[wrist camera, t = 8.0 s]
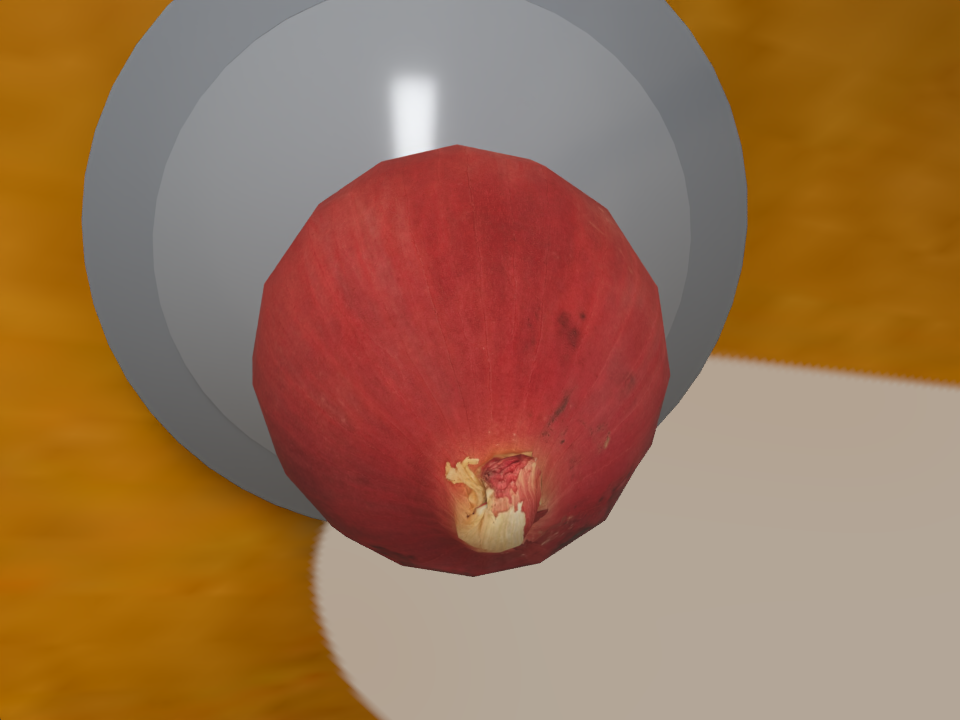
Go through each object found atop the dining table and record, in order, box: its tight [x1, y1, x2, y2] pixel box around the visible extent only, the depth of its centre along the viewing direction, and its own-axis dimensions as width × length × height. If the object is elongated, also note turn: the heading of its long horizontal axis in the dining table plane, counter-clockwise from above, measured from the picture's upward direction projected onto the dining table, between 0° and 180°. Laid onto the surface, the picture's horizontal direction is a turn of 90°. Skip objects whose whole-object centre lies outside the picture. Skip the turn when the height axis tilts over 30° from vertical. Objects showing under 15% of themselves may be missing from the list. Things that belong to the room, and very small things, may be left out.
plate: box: [82, 0, 747, 521], centre depth 17 cm, size 12×12×2 cm
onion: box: [252, 144, 670, 577], centre depth 13 cm, size 6×6×8 cm
